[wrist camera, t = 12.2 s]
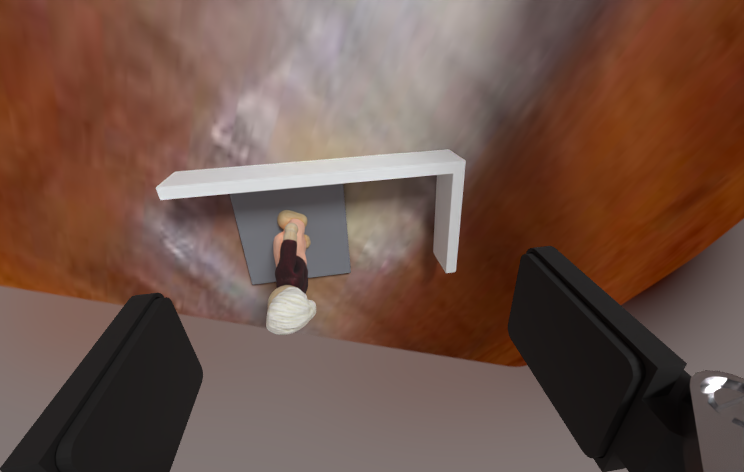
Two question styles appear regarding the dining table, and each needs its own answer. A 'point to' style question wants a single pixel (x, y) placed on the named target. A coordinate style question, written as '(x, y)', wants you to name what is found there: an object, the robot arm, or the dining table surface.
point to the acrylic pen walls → (339, 172)
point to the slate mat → (261, 227)
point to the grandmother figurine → (290, 277)
